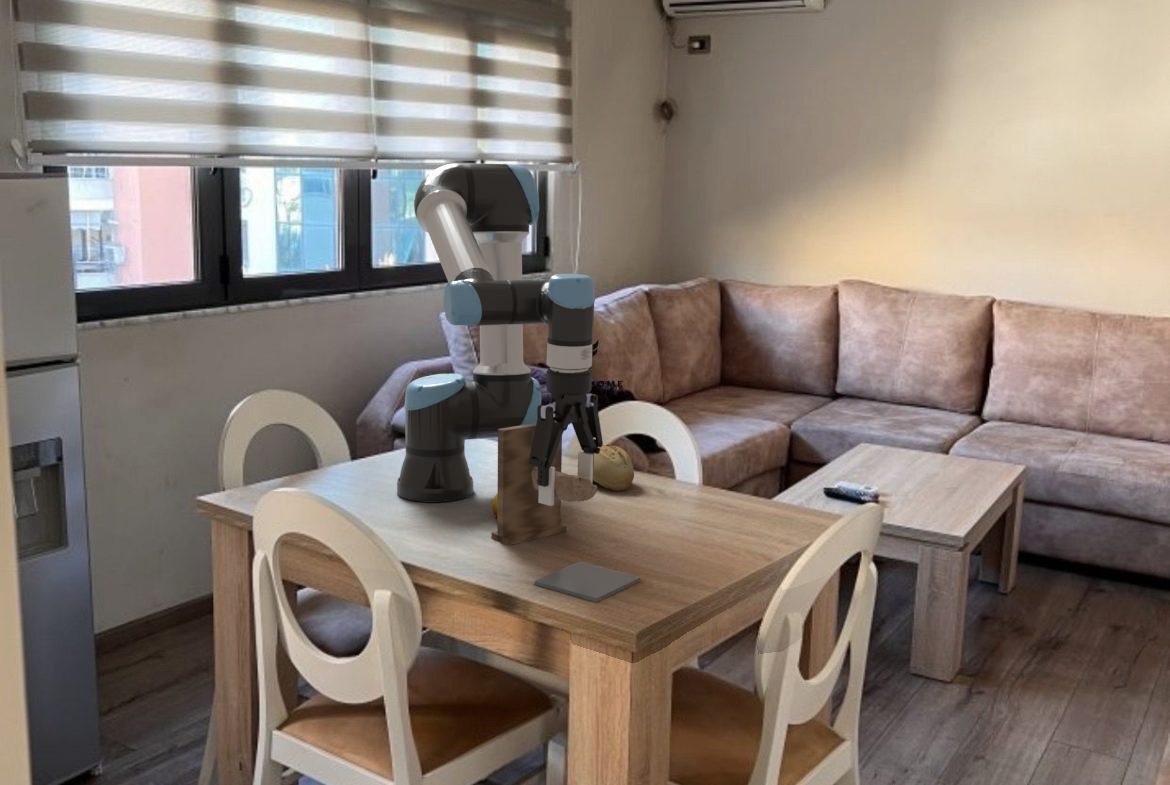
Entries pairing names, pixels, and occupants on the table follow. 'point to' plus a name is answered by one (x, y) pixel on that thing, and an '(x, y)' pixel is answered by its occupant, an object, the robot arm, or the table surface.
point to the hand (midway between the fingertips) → (565, 496)
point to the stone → (568, 486)
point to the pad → (587, 581)
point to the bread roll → (613, 468)
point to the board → (522, 490)
